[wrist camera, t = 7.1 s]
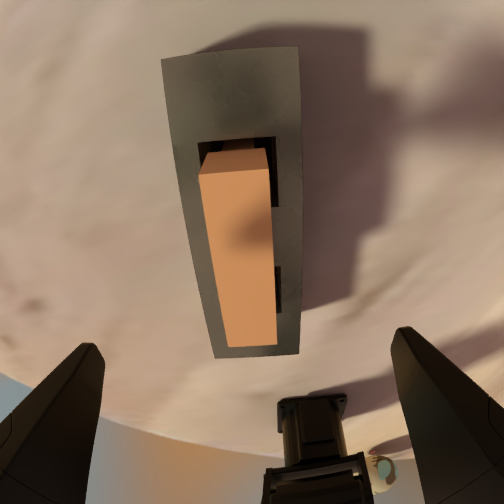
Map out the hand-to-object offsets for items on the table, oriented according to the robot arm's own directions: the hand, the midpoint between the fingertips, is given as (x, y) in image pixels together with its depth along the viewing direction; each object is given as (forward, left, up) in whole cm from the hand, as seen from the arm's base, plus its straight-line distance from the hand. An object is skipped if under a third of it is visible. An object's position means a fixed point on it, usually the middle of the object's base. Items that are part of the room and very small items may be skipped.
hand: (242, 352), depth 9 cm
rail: (0, 0, -10) cm, 10 cm away
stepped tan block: (0, 0, -9) cm, 9 cm away
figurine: (-38, -15, -10) cm, 42 cm away
